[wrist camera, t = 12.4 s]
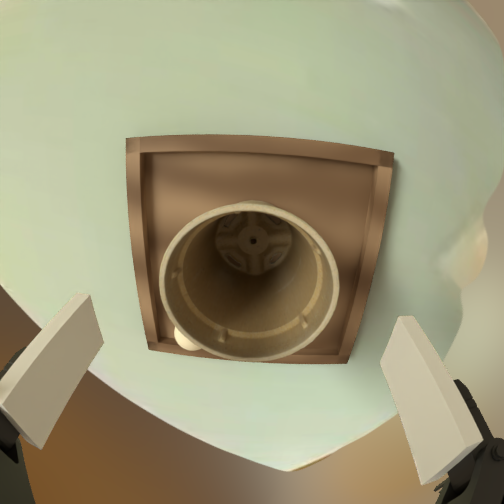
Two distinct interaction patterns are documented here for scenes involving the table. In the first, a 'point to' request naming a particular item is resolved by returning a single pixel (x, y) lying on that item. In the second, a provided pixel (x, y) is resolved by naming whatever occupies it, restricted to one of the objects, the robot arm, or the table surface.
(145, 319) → the tray
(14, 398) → the robot arm
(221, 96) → the table surface
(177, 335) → the cream white ball
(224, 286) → the flower pot
